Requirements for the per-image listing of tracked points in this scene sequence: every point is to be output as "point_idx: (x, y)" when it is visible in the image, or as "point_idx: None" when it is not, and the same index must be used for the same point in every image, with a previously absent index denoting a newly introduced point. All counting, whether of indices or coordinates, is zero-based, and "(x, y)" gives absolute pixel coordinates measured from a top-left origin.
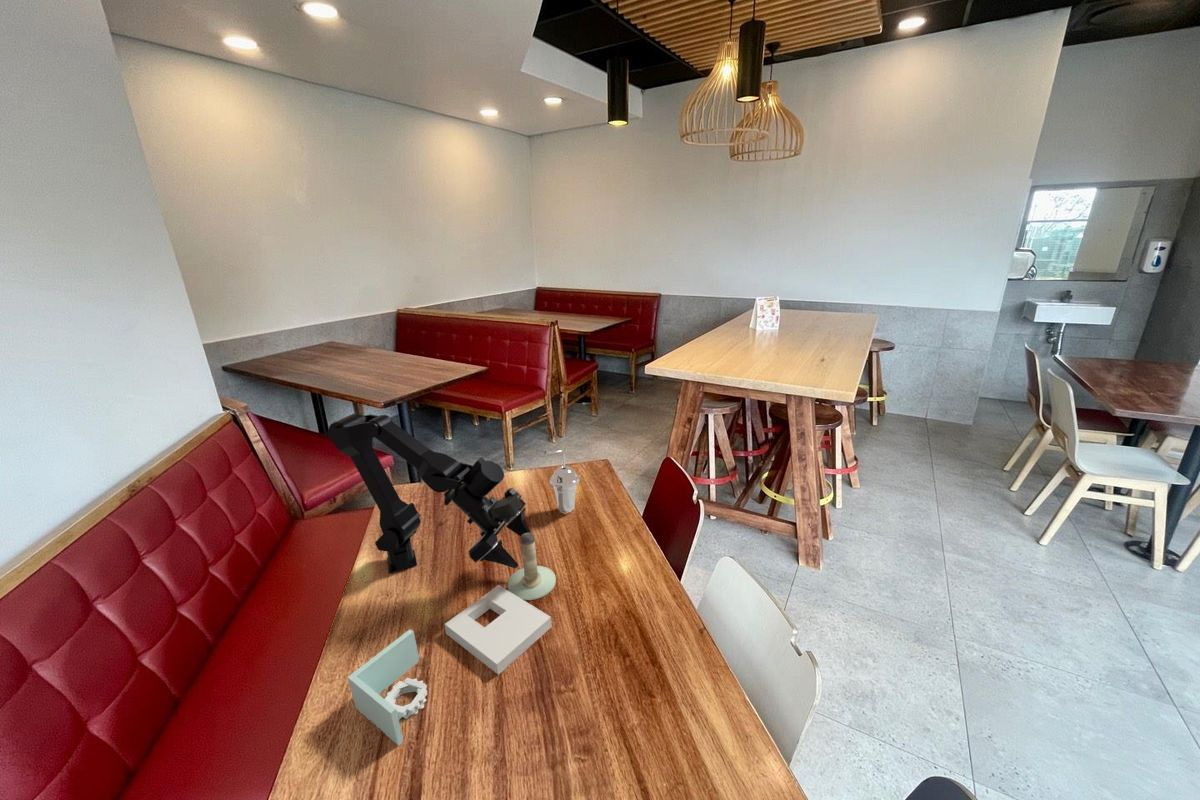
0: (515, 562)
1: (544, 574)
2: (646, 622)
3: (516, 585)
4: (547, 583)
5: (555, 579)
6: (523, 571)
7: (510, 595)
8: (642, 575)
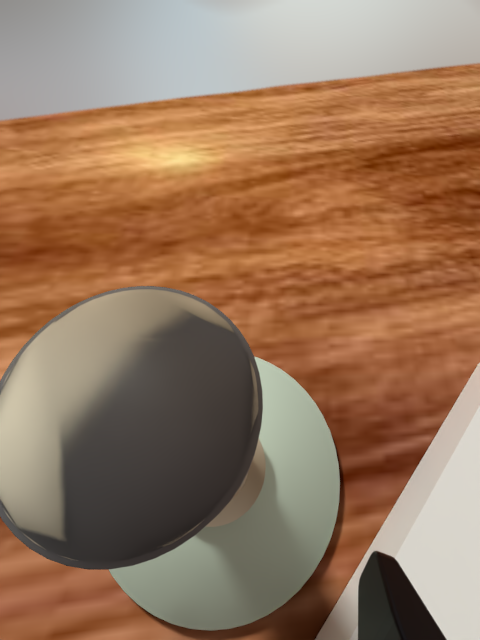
0: (408, 597)
1: None
2: (404, 136)
3: (237, 560)
4: None
5: None
6: None
7: None
8: (228, 129)
